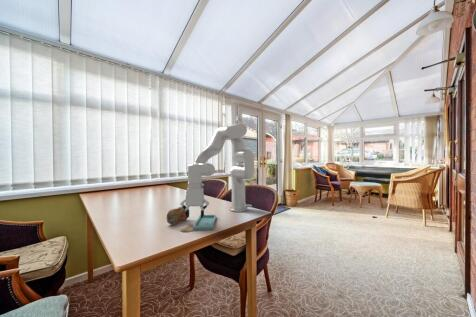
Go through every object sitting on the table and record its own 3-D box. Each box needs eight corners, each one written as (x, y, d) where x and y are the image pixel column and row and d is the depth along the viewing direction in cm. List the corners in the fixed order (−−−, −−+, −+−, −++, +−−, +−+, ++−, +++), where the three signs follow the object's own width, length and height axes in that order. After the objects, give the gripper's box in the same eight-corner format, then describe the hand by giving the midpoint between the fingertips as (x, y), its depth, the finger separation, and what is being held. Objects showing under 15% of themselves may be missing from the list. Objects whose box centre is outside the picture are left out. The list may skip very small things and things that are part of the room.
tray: (216, 217, 126) (216, 214, 126) (212, 230, 105) (212, 226, 105) (200, 217, 126) (199, 214, 126) (192, 230, 105) (192, 226, 105)
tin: (169, 226, 111) (169, 211, 110) (165, 225, 112) (165, 210, 112) (189, 219, 124) (189, 205, 123) (185, 218, 125) (185, 204, 125)
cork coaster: (196, 226, 111) (196, 225, 111) (193, 232, 103) (193, 231, 103) (182, 226, 110) (182, 225, 110) (177, 232, 102) (177, 231, 102)
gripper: (211, 184, 119) (211, 215, 119) (181, 184, 119) (181, 215, 119) (209, 186, 112) (209, 219, 112) (177, 186, 111) (177, 219, 112)
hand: (195, 216), depth 115 cm, fingers open, 7 cm apart
